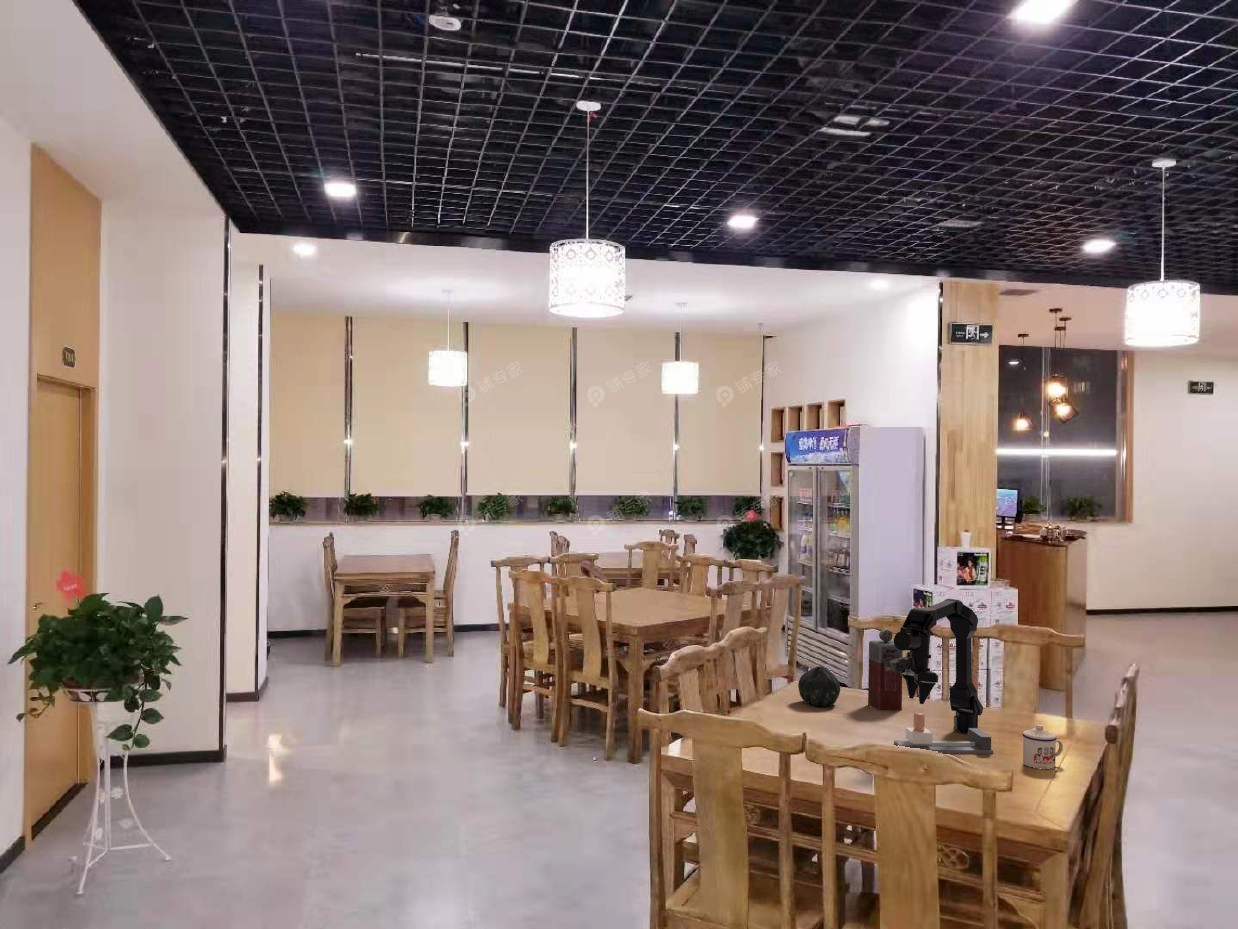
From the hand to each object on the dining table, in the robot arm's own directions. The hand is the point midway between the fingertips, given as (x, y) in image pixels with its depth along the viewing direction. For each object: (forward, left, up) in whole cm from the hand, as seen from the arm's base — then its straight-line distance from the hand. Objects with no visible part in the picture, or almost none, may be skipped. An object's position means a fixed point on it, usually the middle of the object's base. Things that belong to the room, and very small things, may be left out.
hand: (916, 701), depth 291 cm
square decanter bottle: (-7, -49, -14) cm, 51 cm away
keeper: (-1, +1, -12) cm, 12 cm away
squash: (+16, -54, -14) cm, 58 cm away
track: (-8, +1, -14) cm, 16 cm away
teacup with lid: (-32, +17, -14) cm, 39 cm away
